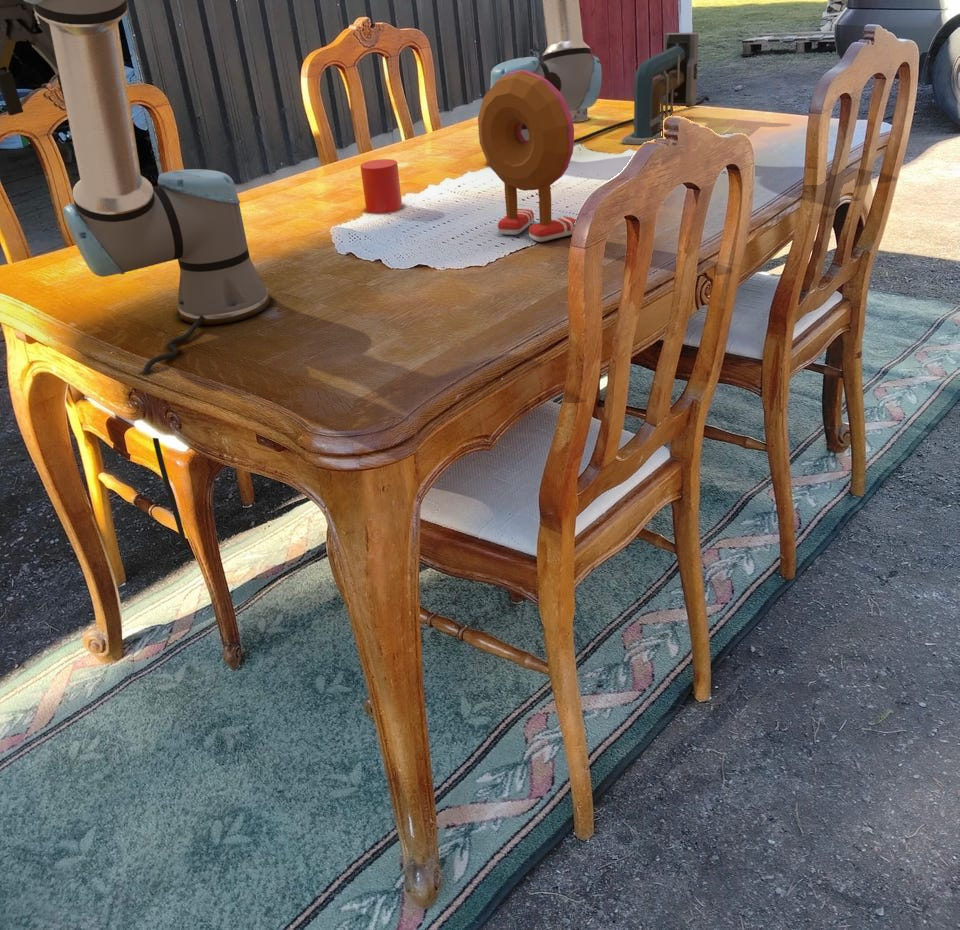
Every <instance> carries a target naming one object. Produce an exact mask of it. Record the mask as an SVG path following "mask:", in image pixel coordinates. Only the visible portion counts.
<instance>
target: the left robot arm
mask: <svg viewBox="0 0 960 930" xmlns="http://www.w3.org/2000/svg"><path fill="white" fill-rule="evenodd" d="M128 8H129V7H128V0H0V95H1V96H2V97H3V101H4V103H5V107H6V110H7V114H8V116H14V115H19V114H22V113H24V109H23V105H22V103H21V99H20V96H19V92H18V90H17V86H16V83H15V79H14V76H13V73H11V70H10V69H9V68H10V63H11V61H12V60H11V59H12V56H13V52H14V50H15V46H16V43H17V42H20V41H21V42H29V43H30V44H33V45H35V47H37V49H38V50H39V51H40V52H41V54H42V55H44V56H45V57H46V59H47V60H48V61H49V62H50V63H51V65H53V67H54V68H55V69H56V70H57V71H58V73H57V75H56V78H57V81H58V85H59V88H60V92H61V96H62V98H63V103H64V107H65V110H66V114H67V119H68V125H69V131H70V134H71V135H70V136H71V139H72V144H73V149H74V154H75V159H76V164H77V169H78V175H79V180H78V181H77V182H76V183H75V185H74V186H73V188H72V199H73V203H70V202H69V203H68V204H67V205H65V206H64V207H63V216H64V219H65V221H66V224H67V228H68V229H69V231H70V234H71V236H72V239H73V241H74V243H75V245H76V247H77V249H78V251H79V253H80V255H81V257H82V258H83V260H84V262H85V264H86V265H87V267H88V269H89V270H90V271H91V273H93V274H94V275H96V276H98V277H101V278H104V277H110V276H115V275H125V274H126V273H129V272H133V271H136V270H137V271H138V270H141V269H144V268H148V267H152V266H156V265H160V264H164V263H168V262H171V261H176V260H177V262H178V266H179V283H178V294H177V310H178V314H179V318H180V319H182V320H183V321H184V322H186V323H189V324H192V325H191V326H190V328H189V329H188V330H187V331H186V332H185V333H184V334H182V335H180V336H177V337H174V338H171V339H170V340H168V341H167V342H166V343H165V344H166V348H167V349H168V350H169V351H170V352H167V353H164V354H159V355H157V356H153V357H152V358H150V359H149V360H148V361H147V362H146V364H145V365H144V368H143V370H142V375H144V376H146V375H148V374H149V373H150V370H151V368H152V367H153V366H154V365H155V364H156V363H158V362H162V361H165V360H169V359H172V358H175V357H177V355H178V354H179V349H178V347H176V346H175V344H178V343H181V342H183V341H186V340H188V339H189V338H190V337H191V336H193V334H194V333H195V331H196V330H197V329H198V327H199V326H201V325H202V326H203V325H204V326H205V325H206V326H210V325H222V324H230V323H233V322H239V321H241V320H245V319H248V318H251V317H253V316H256V315H258V314H260V312H263V311H264V310H265V309H266V308H267V307H268V306H269V305H270V296H269V291H268V288H267V287H266V284H265V283H264V282H263V280H262V278H261V276H260V274H259V272H258V270H257V269H256V267H255V265H254V264H253V262H252V260H251V257H250V251H249V246H248V241H247V236H246V232H245V227H244V220H243V217H242V211H241V206H240V203H241V201H240V200H241V199H239V196H238V193H237V188H236V184H235V182H234V180H233V179H232V177H231V176H230V175H229V174H227V173H225V172H222V171H219V170H213V169H202V168H201V169H200V168H199V169H198V168H197V169H196V168H192V169H176V170H169V171H166V172H162V173H159V175H158V176H157V177H158V178H157V184H158V185H156V186H153V184H152V183H151V182H150V181H149V180H148V179H147V178H146V177H145V176H143V175H142V174H141V168H140V161H139V156H138V155H139V154H138V148H137V142H136V135H135V128H134V122H133V116H132V115H133V114H132V108H131V102H130V96H129V95H130V94H129V88H128V82H127V75H126V69H125V68H126V67H125V60H124V55H123V48H122V42H121V35H120V29H119V28H120V27H119V22H120V21H121V20H122V19H123V18H124V17H125V16H126V15H127V13H128ZM152 443H153V446H154V451H155V455H156V459H157V462H158V466H159V470H160V473H161V477H162V481H163V485H164V487H165V490H166V494H167V497H168V501H169V504H170V509H171V511H172V514H173V518H174V522H175V525H176V528H177V532H178V535H179V540H180V543H181V545H182V546H186V545H187V544H188V542H187V539H186V534H185V531H184V527H183V523H182V520H181V515H180V511H179V508H178V505H177V502H176V499H175V495H174V492H173V488H172V486H171V483H170V479H169V476H168V475H169V474H168V471H167V468H166V464H165V460H164V456H163V453H162V448H161V444H160V441H159V438H158V437H152Z"/></svg>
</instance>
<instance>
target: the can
mask: <svg viewBox="0 0 960 930" xmlns="http://www.w3.org/2000/svg"><path fill="white" fill-rule="evenodd" d="M359 168H360V173H361V180H362V181H361V182H362V188H363V189H362V190H363V195H364V203H365V210H366V212H367V213H369V214H378V215H379V214H389V213H393V212H397V211H399V210H401V209H402V208H403V202H402V193H401V183H400V176H399V175H400V173H399V167H398V161H397V160H395V159H391V158H381V159H373V160H368V161H365V162H363V163H361V164H360V167H359Z"/></svg>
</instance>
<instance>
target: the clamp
mask: <svg viewBox="0 0 960 930" xmlns="http://www.w3.org/2000/svg"><path fill="white" fill-rule="evenodd" d="M698 56H699V32H667V33H664V35H663V51H661V52H660V53H657V54H656V55H654V56H652V57H649V58H647V59H645V60H644V61H643V62H642V63H641V64H640V65H639V66H638V67H637V69H636V71H635V75H634V83H633V84H634V87H633V93H634V94H633V96H634V97H633V119H634V121H633V122H632V126H633V131H632V132H631V133H630V134H628V135H626V136H625V137H623V138H622V140H621V143H622V144H628V145H644V144H643V143H644V142H647V141H651V140H653V139H657V138H661V137H662V138H664V137H663V120H664V119H665V118H666V117H668V118H669V117H670V116H671V115H672V116H673V112H674V111H673V108H674V107H680V106H692V107H695V106H694V105H695V104H696V102H697V89H698V88H697V85H698V84H697V83H698V82H697V80H698V61H699V59H698V58H699V57H698ZM657 76H659V77H657ZM656 77H657V78H656ZM654 78H656V79H654ZM668 109H670V112H668ZM664 110H665V113H664V114H663V111H664ZM660 111H661V115H660ZM661 131H662V136H661ZM662 138H661V139H662Z"/></svg>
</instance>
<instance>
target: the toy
mask: <svg viewBox="0 0 960 930" xmlns="http://www.w3.org/2000/svg"><path fill="white" fill-rule="evenodd" d="M560 90H561V80H560V77H559V76H558V75H557V74H556V73H554V72H550V73H547V74H546V75H545V77H541V76H539V75H537V74H534V73H532V72H529V71H525V70H519V71H516V72H513V73H509V74H507V75H504V76H503V77H502V78H500V79H499V80H498V81H497V82H496V83H495V84H494V86H493V87H492V88H491V89H490V88H489V90H488V91H487V93H485V95H484V96H483V97H482V102H481V105H480V109H479V113H478V117H477V127H478V128H477V129H478V140H479V145H480V148H481V151H482V153H483V156H484V158H485V160H486V163H487V165H488V166H489V168H490V169H491V170H492V171H493V172H494V173H495V174H496V175H497V177H498V178H499V179H500V180H501V182H502V183H504V199H505V200H504V201H505V213H506V214H505V216H504V217H503V218H501V219H500V220H499V221H498V223H497V232H498V234H500V235H510V236H513V235H514V236H515V235H519V234H520V233H522V232H523V231H524V230H525V229H527V228H528V227H529V228H528V235H529V238H530V239H532V240H533V241H535V242H539V243H544V242H548V241H552V240H556V239H561V238H564V237H568V236H572V230H573V226H574V223H575V221H576V220H577V219H576V218H574V217H571V216H564V217H560V218H555V219H552V190H551V186H552V185H553V184H554V183H556V182H558V180H559V179H561V178H562V177H563V176H564V175H565V173H566V171H567V170H568V169H569V165H570V162H571V159H572V157H573V152H574V146H575V143H574V140H575V127H574V122H573V121H572V117H571V114H570V111H569V108H568V105H567V102H566V101H565V99H564V97H563V96H562V94H561V93H560ZM523 124H525V125H526V126H527V129H528V132H529V141H527V140H525V139H524V137H523V135H522V133H521V130H522V125H523ZM518 190H520V191H525V192H526V191H536V190H537V191H538V192H537V193H538V212H539V213H538V214H539V222H538V223H534V222H535V214H534V212H533V209H532V210H531V209H527V208H518Z"/></svg>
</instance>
